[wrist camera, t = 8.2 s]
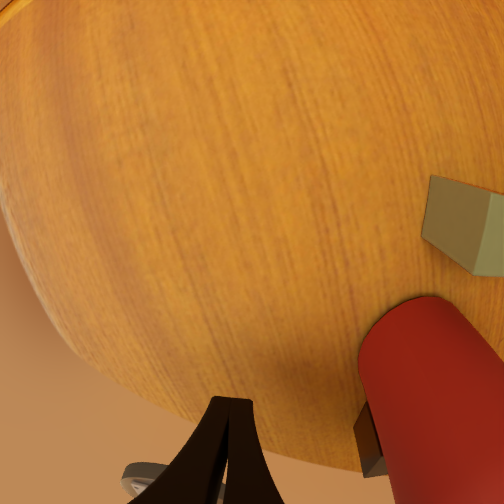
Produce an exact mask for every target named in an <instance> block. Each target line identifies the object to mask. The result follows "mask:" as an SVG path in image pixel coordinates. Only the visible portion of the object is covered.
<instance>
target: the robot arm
mask: <svg viewBox="0 0 504 504" xmlns="http://www.w3.org/2000/svg"><path fill="white" fill-rule="evenodd" d="M227 459H228V468H227V479H226V485H225V492H224V498H223V504H284V502H283V500H282V498H281V496H280V494H279V492H278V490H277V488H276V486H275V484H274V481H273V479H272V477H271V475H270V472H269V470H268V467H267V464H266V461H265V459H264V456H263V453H262V449H261V446H260V443H259V439H258V435H257V431H256V426H255V421H254V414H253V401H252V400H250V399H241V398H231V397H221V396H214V397H212V398H211V401H210V403H209V405H208V408H207V410H206V412H205V414H204V415H203V417H202V419H201V421H200V422H199V424H198V426H197V427H196V429H195V430H194V432H193V434H192V435H191V437H190V438H189V440H188V441H187V443H186V444H185V445H184V447H183V448H182V449H181V451H180V452H179V453H178V455H177V456H176V457H175V458H174V460H173V461H172V462H171V463H170V464H169V465H168V467H167V468H166V469H165V470H164V471H163V472H162V473H161V474H160V475H159V476H158V477H157V478H156V479H155V480H154V481H153V482H152V483H151V484H150V485H146V484H142V483H139V482H135V481H132V482H131V485H132V487H133V488H134V490H135V491H136V492H137V494H138V496H137V497H135V498H134V499H133V500H132V501H130V502H129V503H127V504H217V500H218V496H219V492H220V488H221V484H222V479H223V476H224V472H225V467H226V463H227Z"/></svg>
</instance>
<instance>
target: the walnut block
mask: <svg viewBox="0 0 504 504" xmlns="http://www.w3.org/2000/svg"><path fill="white" fill-rule="evenodd" d="M353 429H354V433H355V438H356V442H357V447H358V452H359V457H360V462H361V467H362V472H363V477H364V478H369V477H375V476H381V475H387V474H388V471H387V467H386V463H385V459H384V455H383V452H382V448H381V444H380V441H379V437H378V433H377V430H376V426H375V423H374V420H373V416H372V413H371V409H370V406H369V403H368V402H366V403H365V405H364V407H363V409H362V411H361V413H360V415H359V417H358V419H357V421H356V423H355V425H354V427H353Z"/></svg>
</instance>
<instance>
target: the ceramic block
mask: <svg viewBox="0 0 504 504" xmlns="http://www.w3.org/2000/svg"><path fill="white" fill-rule="evenodd" d="M421 237H422V238H424V239H425V240H426V241H428V242H429V243H431V244H432V245H433V246H435V247H436V248H437V249H439V250H440V251H442V252H443V253H444V254H446V255H447V256H448V257H450V258H451V259H452V260H454V261H455V262H456V263H458V264H459V265H460V266H461V267H463V268H464V269H465V270H467V271H468V272H469V273H470V274H472V275H473V276H489V277H504V194H503V193H500V192H497V191H493V190H490V189H487V188H483V187H480V186H476V185H472V184H469V183H465V182H461V181H457V180H453V179H449V178H445V177H441V176H436V175H431V179H430V187H429V194H428V200H427V207H426V212H425V218H424V223H423V229H422V233H421Z"/></svg>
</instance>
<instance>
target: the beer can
mask: <svg viewBox="0 0 504 504" xmlns="http://www.w3.org/2000/svg"><path fill="white" fill-rule="evenodd" d="M358 370H359V374H360V378H361V381H362V384H363V387H364V390H365V393H366V396H367V400H368V403H369V406H370V409H371V413H372V416H373V420H374V423H375V426H376V430H377V433H378V437H379V441H380V444H381V448H382V452H383V455H384V459H385V463H386V467H387V471H388V475H389V479H390V483H391V486H392V491H393V495H394V500H395V504H504V362H503V361H502V360H501V359H500V357H499V356H498V355H497V354H496V352H495V351H494V350H493V349H492V348H491V346H490V345H489V344H488V343H487V342H486V340H485V339H484V338H483V337H482V336H481V335H480V333H479V332H478V331H477V330H476V329H475V328H474V327H473V326H472V324H471V323H470V322H469V321H468V320H467V319H466V318H465V317H464V316H463V314H462V313H461V312H460V311H459V310H458V309H457V308H456V307H455V306H454V305H453V304H452V303H451V302H449V301H447V300H444V299H442V298H440V297H420V298H416V299H413V300H410V301H406V302H404V303H402V304H401V305H399V306H397V307H396V308H394V309H392V310H391V311H389V312H388V313H387V314H385V315H384V316H383V317H382V318H381V319H380V320H379V321H378V322H377V323H376V324H375V325H374V326H373V327H372V329H371V330H370V332H369V333H368V335H367V336H366V338H365V339H364V341H363V344H362V347H361V350H360V353H359V356H358Z"/></svg>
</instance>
